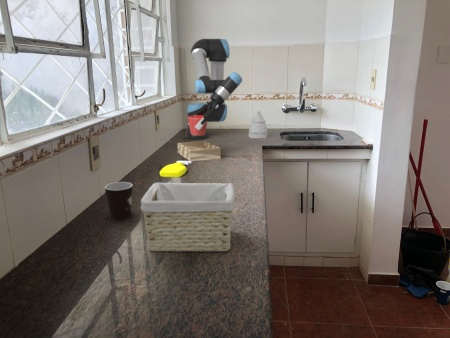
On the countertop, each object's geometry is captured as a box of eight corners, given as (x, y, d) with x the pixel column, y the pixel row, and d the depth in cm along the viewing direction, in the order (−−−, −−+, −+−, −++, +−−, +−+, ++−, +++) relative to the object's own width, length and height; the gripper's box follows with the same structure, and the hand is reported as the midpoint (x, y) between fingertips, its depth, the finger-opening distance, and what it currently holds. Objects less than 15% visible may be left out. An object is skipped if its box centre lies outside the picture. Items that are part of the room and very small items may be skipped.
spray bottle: (157, 177, 162) (173, 164, 186) (181, 178, 161) (194, 165, 184) (157, 171, 162) (173, 158, 185) (181, 171, 160) (194, 159, 184)
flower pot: (209, 132, 203) (209, 115, 200) (206, 136, 193) (206, 117, 190) (190, 132, 204) (190, 115, 202) (186, 136, 194) (186, 117, 191)
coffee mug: (120, 222, 114) (117, 192, 111) (101, 216, 119) (98, 187, 116) (146, 210, 124) (144, 182, 121) (128, 205, 128) (126, 178, 125)
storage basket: (141, 254, 95) (138, 200, 91) (155, 227, 111) (152, 181, 107) (233, 255, 94) (234, 201, 91) (234, 228, 110) (234, 182, 106)
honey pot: (268, 138, 249) (268, 112, 244) (249, 138, 249) (249, 112, 245) (266, 135, 262) (267, 110, 257) (248, 135, 262) (248, 110, 257)
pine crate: (177, 152, 208) (177, 143, 206) (205, 150, 215) (205, 140, 213) (190, 161, 189) (190, 151, 187) (220, 158, 195) (220, 148, 194)
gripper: (233, 103, 190) (205, 135, 188) (216, 99, 210) (190, 128, 208) (223, 93, 186) (195, 125, 184) (207, 90, 206) (181, 119, 205)
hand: (193, 127), depth 196 cm, fingers closed on flower pot, 11 cm apart
